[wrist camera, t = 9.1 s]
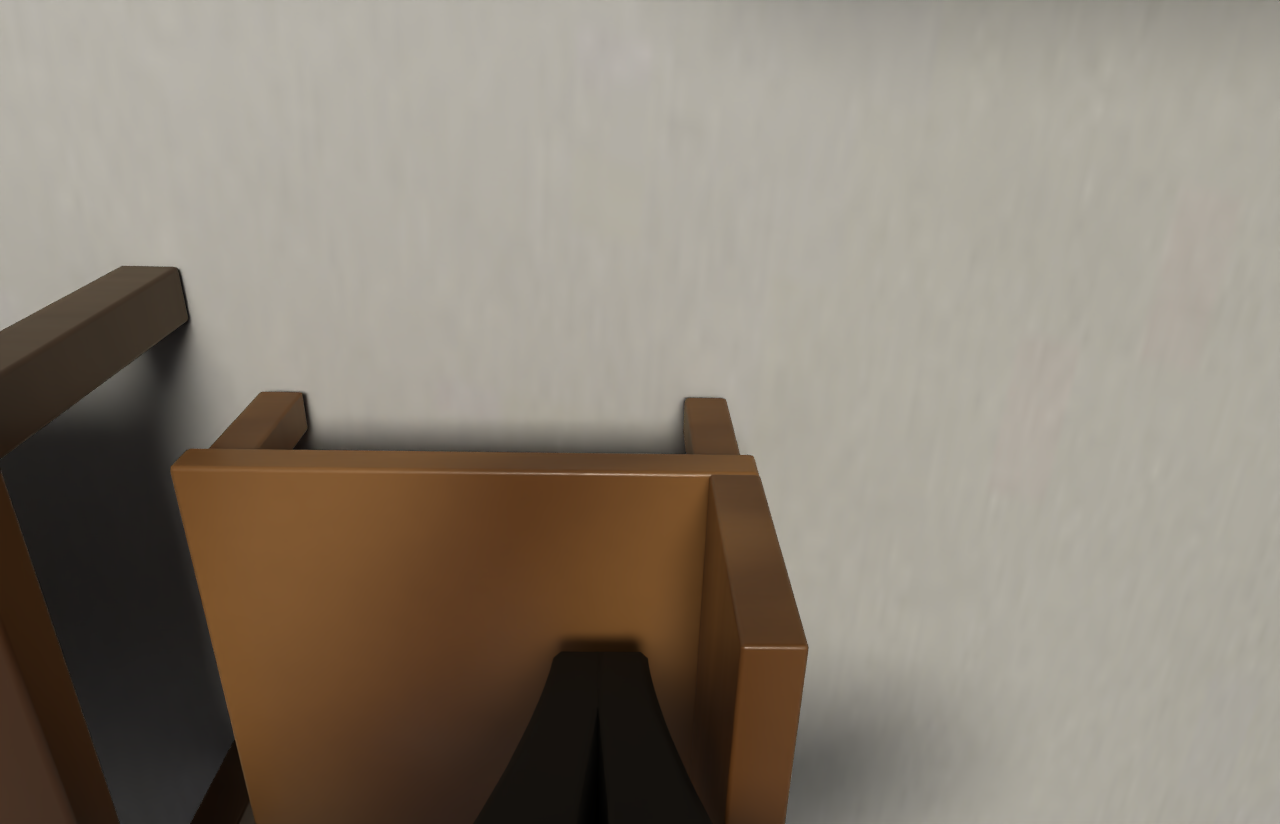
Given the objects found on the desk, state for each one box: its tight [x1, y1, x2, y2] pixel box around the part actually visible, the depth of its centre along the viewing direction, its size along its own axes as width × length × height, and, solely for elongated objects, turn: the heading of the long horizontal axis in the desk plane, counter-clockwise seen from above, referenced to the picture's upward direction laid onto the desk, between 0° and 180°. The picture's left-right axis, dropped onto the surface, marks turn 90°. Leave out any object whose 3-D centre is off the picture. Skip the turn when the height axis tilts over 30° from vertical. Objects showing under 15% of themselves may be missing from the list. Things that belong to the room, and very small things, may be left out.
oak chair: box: [170, 392, 809, 824], centre depth 13 cm, size 8×7×6 cm
